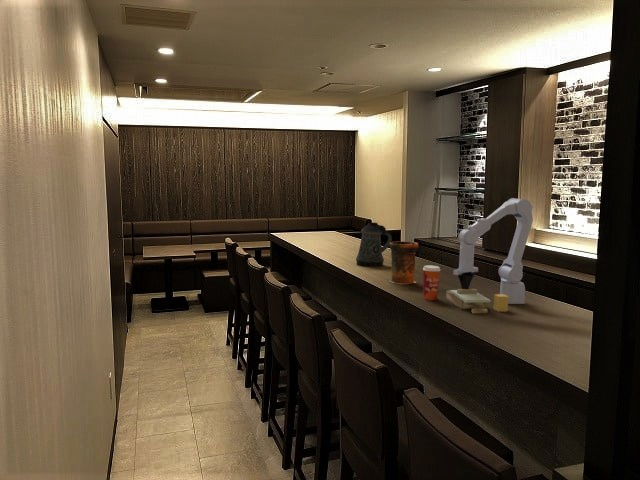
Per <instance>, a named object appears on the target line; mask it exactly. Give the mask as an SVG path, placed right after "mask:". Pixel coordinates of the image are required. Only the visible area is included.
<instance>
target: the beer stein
mask: <svg viewBox="0 0 640 480" xmlns="http://www.w3.org/2000/svg"><path fill="white" fill-rule="evenodd" d="M360 231H361V237H360V238H361V240H360V244H359V249H358V253H357V256H356V257H355V258H356V259H355V261H356V265H357V266H359V267H360V266H361V267H368V268H369V267H370V268H375V267H376V268H377V267H382V266H384V260H385V258H384V256H383V252H384V251H386V250H387V249H388V248H389V247H390V245H389V244H390V243H391V242H392V234H391V233H392V232H390V231H388V230H387V229H386V227H385V226H384V225H380V224H378V222H368V224H366V225H365V226H364V227H363V228H362V229H361V230H360ZM381 236H386V237H387V240H386V242H385V244H384V245H383V246H382V238H381Z"/></svg>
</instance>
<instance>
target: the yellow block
mask: <svg viewBox="0 0 640 480" xmlns="http://www.w3.org/2000/svg"><path fill="white" fill-rule="evenodd" d="M493 295H494V296H493V310H495V311H496V310H497V312H508V309H509V304H508V296H506V295H504V294H500V293H497V294H493Z"/></svg>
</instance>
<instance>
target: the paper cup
mask: <svg viewBox="0 0 640 480" xmlns="http://www.w3.org/2000/svg"><path fill="white" fill-rule="evenodd" d="M422 270H423V272H422V273H423V283H422V284H423V299H424V300H428V301H436V300H438V293H439V283H440V276H441V275H440V272H441V271H442V270H441V268H440V266H438V265H424V266H423V268H422Z"/></svg>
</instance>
